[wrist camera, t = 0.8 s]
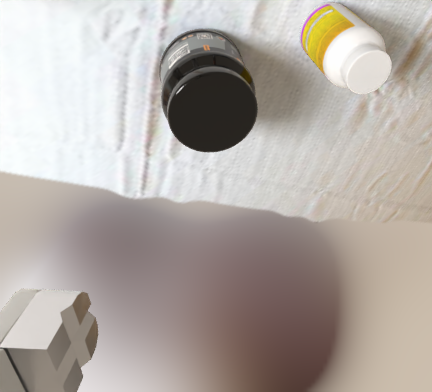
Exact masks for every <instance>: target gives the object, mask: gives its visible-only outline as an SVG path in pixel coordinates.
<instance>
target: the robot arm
mask: <svg viewBox="0 0 432 392" xmlns="http://www.w3.org/2000/svg"><path fill="white" fill-rule="evenodd" d="M90 305H91V302H90V299H89V297H88V294H87V293H85V292H81V291H64V290H63V291H62V290H46V289H43V290H39V289H21V290H19V291H17V292H15V294H14V295H13V296H12V297H11V299H10V300H9V301H8V303H7V304H6V305H5V306H4V308H3V309H2V310H1V312H0V392H77V390H78V388H79V385H80V383H81V381H82V378H83V374H82V371H81V367H82V366H83V365H84V364H86V363H87V362H88V361H89V360H91V358H92V356H93V353H94V351H95V348H96V344H97V338H98V325H97V321H96V318H95V317H94V316H93V315H92V314H91V313H90V312H88V309H89V307H90Z"/></svg>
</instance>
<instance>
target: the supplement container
mask: <svg viewBox="0 0 432 392" xmlns="http://www.w3.org/2000/svg"><path fill="white" fill-rule="evenodd" d="M160 81H161V89H162V92H161V103H162V108H163V112H164V114H165V116H166V118H167V120H168V123H169V126H170V129H171V131H172V133H173V134H174V136H175V137H176V138H177V139H178V140H179V141H180V142H181V143H182V144H183V145H185V146H187V147H188V148H191V149H193V150H196V151H200V152H219V151H223V150H226V149H229V148H231V147H233V146H235V145H236V144H238V143H239V142H241V141H242V140H243V139H244V138H245V137H246V136H247V135H248V134H249V132H250V131H251V129H252V128H253V126H254V124H255V121H256V117H257V110H258V107H257V100H256V97H255V85H254V82H253V79H252V76H251V74H250V72H249V71H248V69H247V68H246V67H245V65H244V63H243V61H242V58H241V55H240V53H239V51H238V49H237V47H236V46H235V45H234V43H233V42H232V41H231V40H230V39H229V38H227V37H226V36H225V35H223V34H221V33H219V32H217V31H214V30H210V29H195V30H190V31H187V32H185V33H183V34H181V35H179V36H178V37H177V38H175V39H174V40H173V41H172V42H171V43H170V44H169V45H168V47H167V48H166V50H165V52H164V53H163V56H162V59H161V62H160Z"/></svg>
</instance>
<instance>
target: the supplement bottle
mask: <svg viewBox="0 0 432 392" xmlns="http://www.w3.org/2000/svg"><path fill="white" fill-rule="evenodd" d="M300 43H301V46H302V48H303V50H304V51H305V52H306V54H307V55H308V56H309V57H310V58H311V60H312V61H313V62H314V63H315V64H316V65H317V67H318V68H319V69H320V70H321V71H322V73H323V74H324V75H325V76H326V78H327V79H328V80H329V81H330V82H331V83H332V84H334V85H335V86H338V87H341V88H349V89H350V90H351V91H352V92H354V93H356V94H368V93H371V92H373V91H375V90H377V89H378V88H379V87H381V86H382V85H383V84H384V83H385V82H386V80H387V79H388V77H389V75H390V73H391V69H392V61H391V58H390V56H389V55H388V54H387V53H386V46H385V42H384V39H383V37H382V36H381V34H380V33H379V32H378V31H376V30H375V29H374V28H372V27H371V26H370V25H368V24H367V23H366V22H364V21H363V20H362V19H361V18H359V17H358V16H357V15H355V14H354V13H353V12H352V11H350V10H349V9H348V8H346V7H345V6H343V5H341V4H339V3H335V2H327V3H323V4H321V5H319V6H317V7H315V8H314V9H313V10H311V11H310V12H309V14H308V15H307V16H306V17H305V19H304V21H303V23H302V25H301V28H300Z"/></svg>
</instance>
